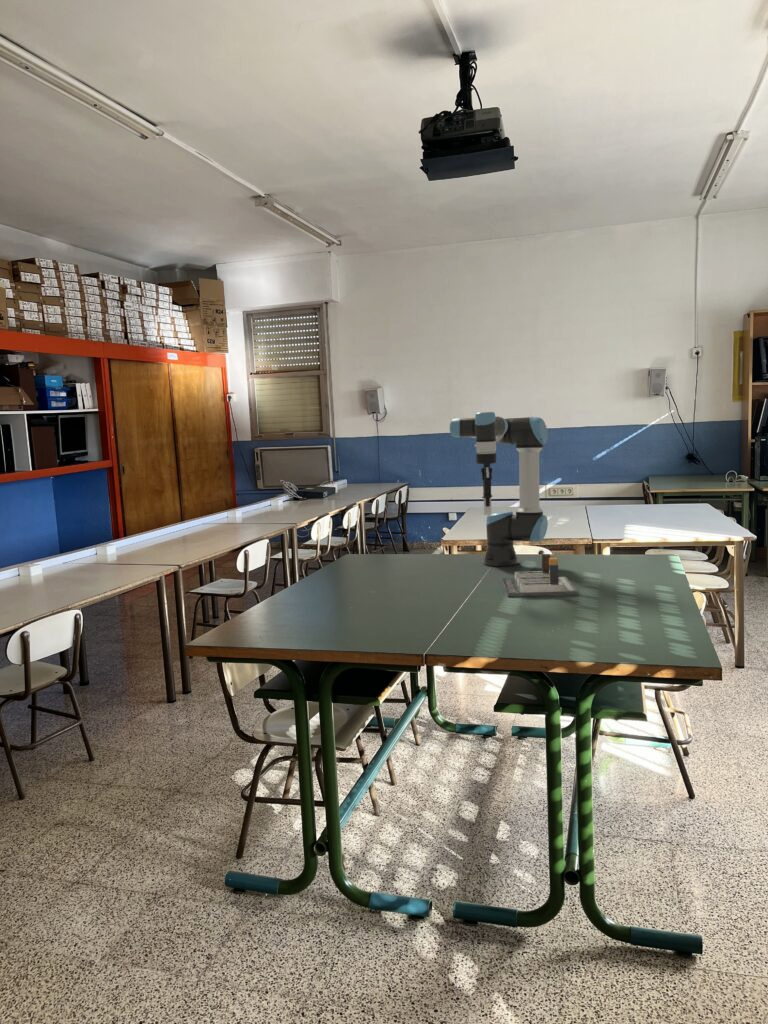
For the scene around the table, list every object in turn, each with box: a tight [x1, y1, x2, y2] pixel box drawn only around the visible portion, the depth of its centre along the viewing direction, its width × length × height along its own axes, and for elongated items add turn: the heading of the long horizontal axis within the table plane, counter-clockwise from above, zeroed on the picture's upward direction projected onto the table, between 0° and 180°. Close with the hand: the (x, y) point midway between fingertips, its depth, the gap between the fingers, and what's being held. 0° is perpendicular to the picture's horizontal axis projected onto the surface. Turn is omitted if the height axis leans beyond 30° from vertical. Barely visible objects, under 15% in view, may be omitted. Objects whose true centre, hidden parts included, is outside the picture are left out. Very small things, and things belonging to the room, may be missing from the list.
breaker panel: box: [501, 553, 578, 598], centre depth 284 cm, size 25×25×11 cm
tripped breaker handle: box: [549, 557, 559, 565], centre depth 284 cm, size 2×3×7 cm
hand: (487, 514), depth 287 cm, fingers closed
